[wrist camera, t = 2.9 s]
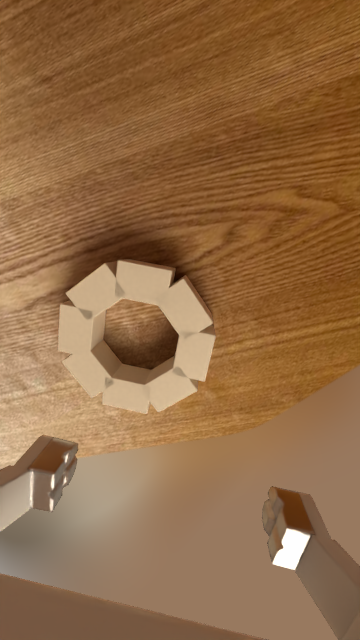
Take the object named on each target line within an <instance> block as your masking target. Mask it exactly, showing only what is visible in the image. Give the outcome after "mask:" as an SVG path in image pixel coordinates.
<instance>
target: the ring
mask: <svg viewBox="0 0 360 640" xmlns="http://www.w3.org/2000/svg"><path fill="white" fill-rule="evenodd" d="M175 270H176V268H172V267H167V266H162V265H157V264H152V263H147V262H142V261H137V260H132V259H123V260H118V262H109V263H104V264H102V265H101V266H100V267H98V268H97V269H96V270H95V271H93V272H92V273H91V274H89V275H88V276H87V277H85V278H84V279H83V280H82V281H80V282H79V283H78V284H76V285H75V286H74V287H72V288H71V289H70V290H68V291H67V292H66V295H67V296H68V297H69V298H70V300H69V301H66V302H63V303H61V304H60V312H59V332H58V351H61V352H66V353H71V355H69V356H68V357H67V358H65V359H64V360H63V361H62V363H63V364H64V365H65V367H66V368H67V369H68V370H69V372H70V373H71V374H72V375H73V376H74V378H75V379H76V380H77V381H78V382H79V384H80V385H81V386H82V387H83V388H84V390H85V391H86V392H87V393H88V394H89V396H90V397H91V398H93V397H94V396H96V395H98V394H99V393H101V392H103V397H102V404H104V405H108V406H113V407H117V408H122V409H127V410H131V411H136V412H141V413H145V414H147V413H148V410H149V407H150V404H152V405H153V406H154V408H155V409H156V410H157V412H160V411H162V410H164V409H165V408H167V407H169V406H171V405H173V404H174V403H176V402H178V401H180V400H182V399H183V398H185V397H187V396H189V395H191V394H192V393H194V392H196V391H197V390H198V380H200V381H205V379H206V374H207V370H208V366H209V362H210V358H211V354H212V349H213V345H214V341H215V337H216V335H215V329H214V325H211V324H213V318H212V313H211V312H210V310H209V309H208V307H207V306H206V304H205V303H204V301H203V300H202V298H201V297H200V295H199V294H198V292H197V291H196V289H195V288H194V286H193V285H192V283H191V282H190V280H189V279H188V277H187V276H186V275H185V276H183V277H182V278H180V279H179V280H177V281H176V282H175V283H173V282H174V276H175ZM123 298H124V299H129V300H134V301H139V302H144V303H149V304H154V305H158V306H159V308H160V309H161V310H162V312H163V313H164V315H165V316H166V318H167V319H168V320H169V322H170V323H171V325H172V326H173V327H174V329H175V330H176V332H177V333H178V334H179V338H178V343H177V348H176V353H175V356H173V357H172V358H170V359H168V360H167V361H165V362H163V363H162V364H160V365H158V366H157V367H155V368H153V369H152V370H149V369H145V368H140V367H135V366H130V365H126V364H122V363H121V362H120V360H119V359H118V358H117V357H116V355H115V354H114V353H113V351H112V350H111V349H110V348H109V346H108V345H107V344H106V342H105V341H104V340H103V337H104V327H105V318H106V310H107V309H109V308H110V307H112V306H113V305H114V304H116V303H117V302H119V301H120V300H121V299H123Z"/></svg>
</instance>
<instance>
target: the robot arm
mask: <svg viewBox="0 0 360 640" xmlns="http://www.w3.org/2000/svg"><path fill="white" fill-rule="evenodd" d="M77 451H78V444H77V443H75V442H71V441H67V440H63V439H59V438H54V437H50V436H46V435H42V436H40V437H39V438H38V439H37V440H36V441H35V442H34V444H33V445H32V446H31V447H30V448H29V449H28V450H27V451H26V453H25V454H24V455H23V456H22V457H21V458H20V459H19V460H18V461H17V463H16V464H15V465H14V466H10V465H9V466H7V467H5V468H3V469H1V470H0V531H2V530H3V529H4V528H6V527H7V526H8V525H10V524H11V523H12V522H14V521H15V520H16V519H18V518H19V517H20V516H22V515H23V514H24V513H26V512H27V511H28V510H29V509H30V508H34V509H39V510H44V511H49V512H53V510H54V508H55V506H56V505H57V503H58V501H59V500H60V498H61V496H62V490H63V488H64V487H65V486H67V485H68V484H69V482H70V481H71V479H72V477H73V474H74V472H75V469H76V464H77V458H76V456H75V454H76V453H77ZM268 495H269V499H268V500H266V501H265V503H264V506H263V512H262V519H263V526H264V530H265V531H266V533H267V534H268V535H269V540H268V543H267V544H268V548H269V552H270V557H271V561H272V564H274V565H278V566H281V567H285V568H288V569H292V570H296V574H297V575H298V577H299V578H300V580H301V581H302V583H303V584H304V586H305V588H306V589H307V591H308V592H309V594H310V596H311V597H312V599H313V600H314V602H315V604H316V605H317V607H318V608H319V610H320V611H321V613H322V614H323V616H324V618H325V619H326V621H327V622H328V624H329V625H330V627H331V629H332V630H333V632H334V633H335V635H336V637H337V638H338V640H360V566H359V565H358V564H357V563H356V562H355V561H354V560H353V558H352V557H351V556H350V555H349V554H348V553H347V552H346V551H345V550H344V549H343V548H342V547H341V546H340V545H339V544H338V543H337V542H336V541H335V540H332V539H331V537H330V535H329V533H328V531H327V529H326V527H325V524H324V522H323V520H322V518H321V516H320V513H319V511H318V509H317V507H316V505H315V503H314V501H313V498H312V497H311V495H310V494H305V493H301V492H295V491H291V490H287V489H282V488H277V487H273V486H272V487H271V488H270V489H269V492H268ZM0 640H267V639H263V638H259V637H255V636H250V635H247V634H243V633H239V632H235V631H231V630H227V629H223V628H219V627H215V626H210V625H206V624H202V623H198V622H194V621H190V620H186V619H182V618H178V617H174V616H170V615H166V614H162V613H157V612H154V611H150V610H145V609H142V608H138V607H134V606H130V605H126V604H121V603H117V602H113V601H109V600H105V599H101V598H97V597H93V596H89V595H85V594H81V593H77V592H73V591H69V590H65V589H61V588H57V587H53V586H49V585H44V584H41V583H37V582H32V581H29V580H25V579H20V578H17V577H13V576H8V575H4V574H0Z"/></svg>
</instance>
